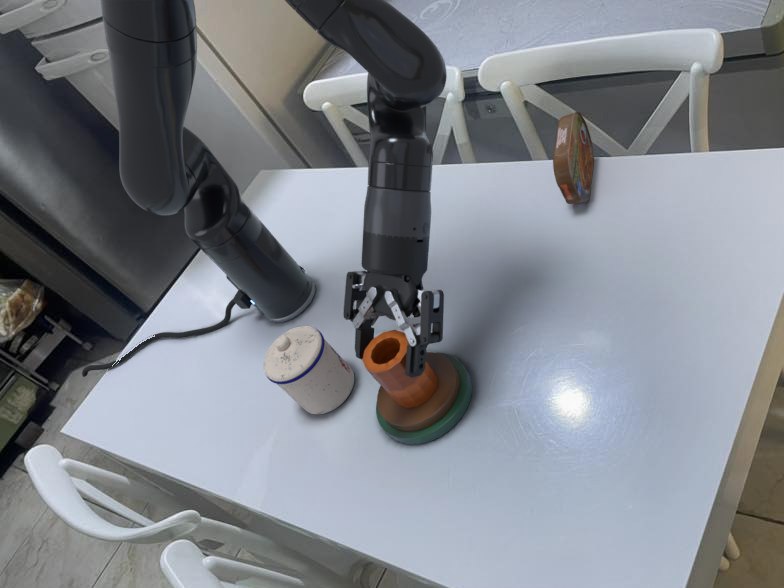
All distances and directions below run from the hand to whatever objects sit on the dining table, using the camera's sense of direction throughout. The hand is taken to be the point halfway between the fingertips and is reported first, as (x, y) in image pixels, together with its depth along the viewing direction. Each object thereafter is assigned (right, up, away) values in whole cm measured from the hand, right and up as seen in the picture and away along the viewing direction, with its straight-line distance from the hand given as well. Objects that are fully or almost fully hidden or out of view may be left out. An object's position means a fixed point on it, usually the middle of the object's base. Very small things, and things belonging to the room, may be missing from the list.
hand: (388, 366), depth 84 cm
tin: (+26, +27, +20) cm, 43 cm away
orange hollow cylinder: (+3, -3, +5) cm, 6 cm away
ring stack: (+4, -4, +7) cm, 9 cm away
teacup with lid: (-11, -3, +16) cm, 20 cm away
